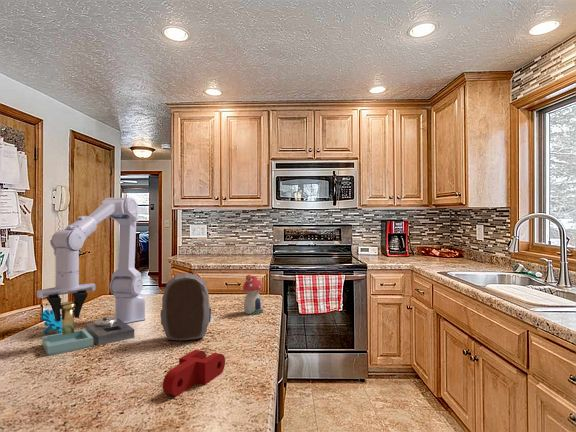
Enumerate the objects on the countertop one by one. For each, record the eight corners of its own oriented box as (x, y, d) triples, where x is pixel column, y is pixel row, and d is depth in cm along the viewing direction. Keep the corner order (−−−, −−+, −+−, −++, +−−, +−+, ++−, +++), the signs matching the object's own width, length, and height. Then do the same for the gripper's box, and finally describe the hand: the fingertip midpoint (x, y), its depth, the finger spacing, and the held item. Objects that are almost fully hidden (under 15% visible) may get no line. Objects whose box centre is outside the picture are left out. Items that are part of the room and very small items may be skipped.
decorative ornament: (248, 316, 136) (248, 276, 136) (238, 313, 140) (238, 274, 141) (267, 312, 142) (267, 273, 142) (257, 309, 147) (256, 271, 147)
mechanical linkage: (200, 367, 90) (200, 346, 90) (225, 371, 88) (225, 350, 88) (153, 396, 76) (153, 372, 76) (181, 402, 73) (181, 377, 73)
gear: (58, 333, 111) (37, 309, 113) (43, 347, 111) (22, 323, 112) (79, 327, 122) (60, 305, 124) (65, 340, 122) (46, 318, 123)
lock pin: (78, 329, 108) (77, 301, 108) (75, 334, 104) (74, 304, 104) (61, 331, 107) (60, 302, 106) (57, 336, 102) (56, 306, 102)
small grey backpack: (158, 344, 106) (158, 275, 107) (163, 335, 115) (163, 271, 115) (211, 341, 109) (211, 273, 109) (212, 332, 117) (212, 270, 117)
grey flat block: (118, 325, 125) (118, 312, 125) (134, 337, 112) (134, 323, 112) (85, 331, 118) (85, 318, 118) (98, 344, 106) (98, 330, 106)
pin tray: (84, 337, 113) (84, 329, 113) (93, 346, 104) (93, 337, 104) (41, 345, 106) (41, 336, 106) (47, 356, 97) (47, 346, 97)
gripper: (89, 267, 113) (89, 311, 113) (33, 273, 102) (33, 321, 102) (98, 270, 108) (98, 315, 108) (40, 275, 98) (40, 326, 98)
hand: (67, 319), depth 105 cm, fingers closed on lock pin, 4 cm apart
